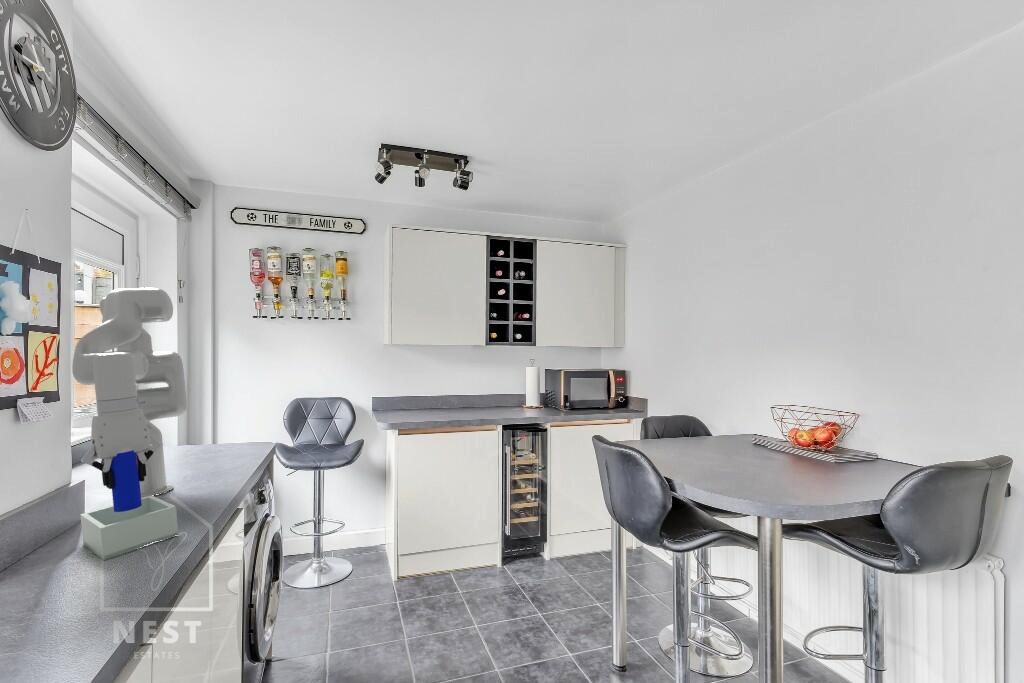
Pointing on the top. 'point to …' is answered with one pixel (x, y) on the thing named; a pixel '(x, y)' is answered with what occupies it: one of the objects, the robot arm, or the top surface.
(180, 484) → the top surface
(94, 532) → the crate
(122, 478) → the beverage can
